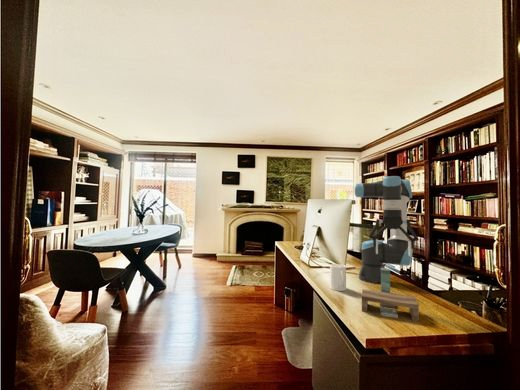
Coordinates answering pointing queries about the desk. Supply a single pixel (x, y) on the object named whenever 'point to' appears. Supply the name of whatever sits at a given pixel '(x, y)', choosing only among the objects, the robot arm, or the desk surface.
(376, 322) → the desk surface
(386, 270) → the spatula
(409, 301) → the riser
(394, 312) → the tile
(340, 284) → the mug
